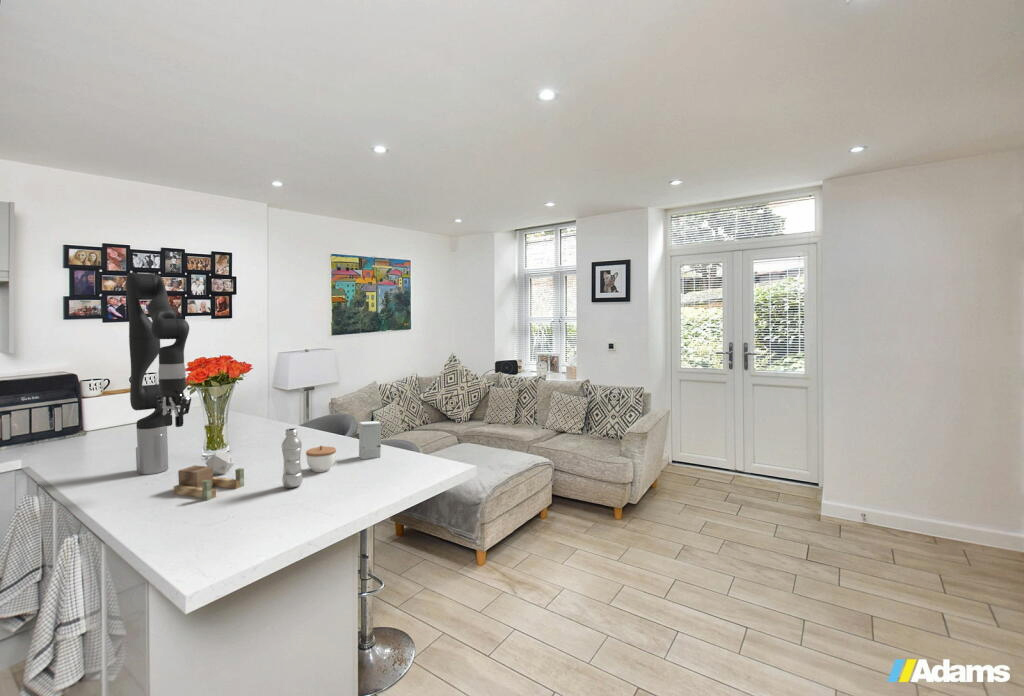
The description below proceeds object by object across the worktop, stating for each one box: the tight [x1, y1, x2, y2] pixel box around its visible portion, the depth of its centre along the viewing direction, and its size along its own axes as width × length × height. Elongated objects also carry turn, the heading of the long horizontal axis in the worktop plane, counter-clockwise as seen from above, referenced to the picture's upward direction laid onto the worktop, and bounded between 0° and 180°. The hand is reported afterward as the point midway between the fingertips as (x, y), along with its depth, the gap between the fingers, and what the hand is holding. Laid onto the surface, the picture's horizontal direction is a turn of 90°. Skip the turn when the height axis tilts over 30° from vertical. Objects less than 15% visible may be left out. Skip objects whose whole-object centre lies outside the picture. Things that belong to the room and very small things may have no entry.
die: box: [205, 451, 236, 475], centre depth 178 cm, size 8×9×10 cm
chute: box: [173, 467, 245, 501], centre depth 160 cm, size 16×14×6 cm
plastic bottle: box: [281, 427, 303, 489], centre depth 163 cm, size 6×7×20 cm
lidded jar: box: [305, 445, 337, 473], centre depth 182 cm, size 11×11×9 cm
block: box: [177, 465, 214, 489], centre depth 161 cm, size 8×6×7 cm
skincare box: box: [358, 420, 382, 460], centre depth 200 cm, size 8×6×15 cm
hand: (174, 425), depth 162 cm, fingers open, 4 cm apart
